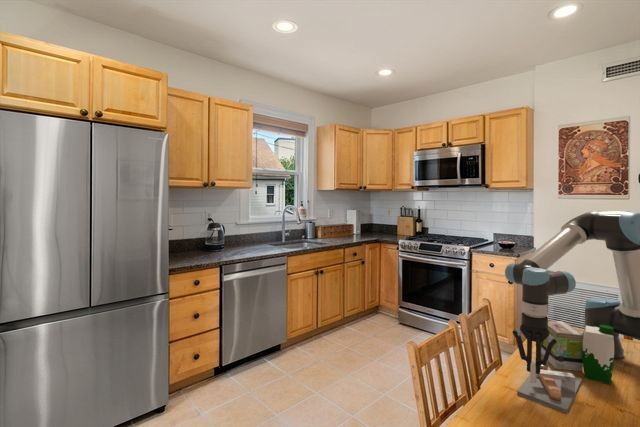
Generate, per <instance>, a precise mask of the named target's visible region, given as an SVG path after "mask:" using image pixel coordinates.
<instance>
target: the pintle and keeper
mask: <svg viewBox="0 0 640 427" xmlns="http://www.w3.org/2000/svg"><path fill="white" fill-rule="evenodd" d="M548 366H549V365H548V364H546V365H540V374H536V376H537V377H544V378H551V379H559V380H561V387H562V388H563V390H564V391H567V392H575V377H574V376H575V375H574V374H573V373H572V372H565V371H560V372H558V371H559V370H556V371H550V370H544V369H548ZM542 369H543V370H542Z"/></svg>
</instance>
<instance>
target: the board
mask: <svg viewBox="0 0 640 427" xmlns="http://www.w3.org/2000/svg"><path fill="white" fill-rule="evenodd" d="M550 370H551V371H558V372H561V371H560V370H556V369H553V368H550ZM574 377H575V392H567V391H564V390H563V388H562V387H561V380H559V379H553V380H554V381H555V383H556V385H557V386H558V388H559V390H560V391H561V400H556V399H553V398H551V397H550V395H549V393H548V391H547V389H546V388H545V386H544V384H543V382H542V380H541V378H540V377H537V376H536V383H535V384H534V383H530V374H529V375H528V377H526V379H525V380H524V382H523V383H522V384H521V386H519V388H518V390H517V391H516V394H517V395H518V396H521V397H523V398H526V399H528V400H531V401H533V402H536V403H539V404H540V405H541V404H542V405H544V406H546V407H548V408H552V409H555V410H557V411H560V412H562V413H565V414H568V413H569V410H570V409H571V406H572V404H573V402H574V400H575V398H576V395H577V393H578V391H579V389H580V387H581V385H582V383H583V377H582V378H581V377H578V376H575V375H574Z"/></svg>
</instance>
